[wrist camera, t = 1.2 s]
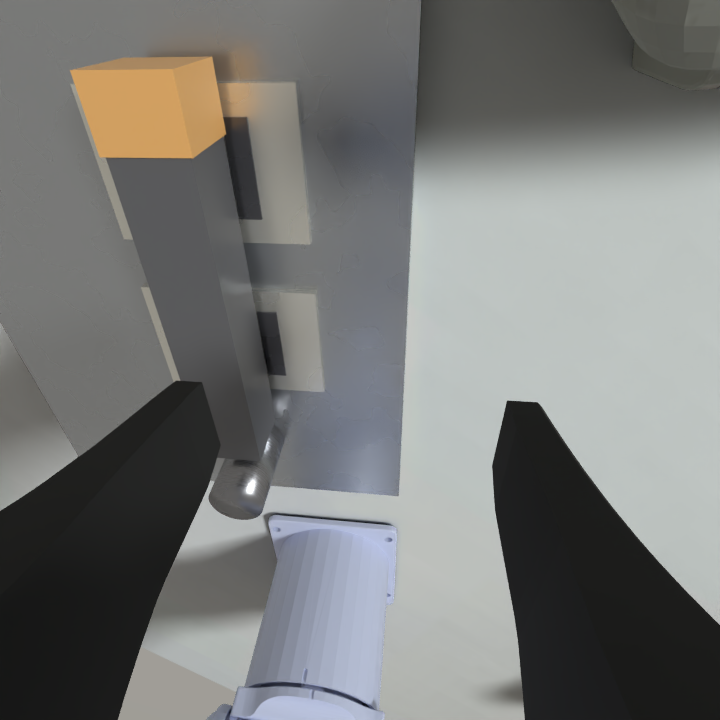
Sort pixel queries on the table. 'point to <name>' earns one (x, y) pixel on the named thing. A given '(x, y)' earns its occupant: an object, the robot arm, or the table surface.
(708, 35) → the digital clock
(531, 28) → the table surface
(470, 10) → the table surface
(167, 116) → the swing bar
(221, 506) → the grey lever board
